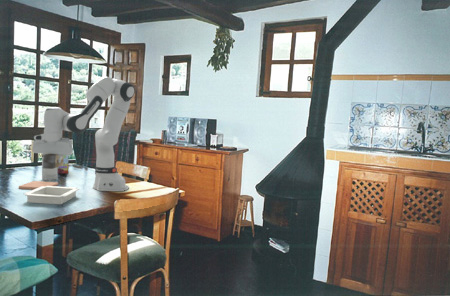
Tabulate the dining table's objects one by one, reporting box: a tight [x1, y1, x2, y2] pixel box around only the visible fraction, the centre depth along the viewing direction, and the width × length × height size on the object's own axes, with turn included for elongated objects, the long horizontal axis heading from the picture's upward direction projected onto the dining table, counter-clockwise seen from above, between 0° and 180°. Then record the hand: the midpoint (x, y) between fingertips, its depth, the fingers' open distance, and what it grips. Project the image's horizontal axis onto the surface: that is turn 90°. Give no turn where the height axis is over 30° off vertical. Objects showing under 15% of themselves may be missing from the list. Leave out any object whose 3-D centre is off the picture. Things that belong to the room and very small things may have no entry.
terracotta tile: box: [18, 180, 59, 191], centre depth 200 cm, size 16×16×2 cm
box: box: [42, 154, 64, 169], centre depth 174 cm, size 5×12×7 cm, turn 2°
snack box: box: [57, 155, 69, 175], centre depth 252 cm, size 22×9×26 cm, turn 33°
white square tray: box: [23, 185, 80, 205], centre depth 176 cm, size 22×22×4 cm
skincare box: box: [41, 156, 58, 182], centre depth 222 cm, size 8×7×16 cm
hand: (52, 162), depth 173 cm, fingers closed on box, 5 cm apart
